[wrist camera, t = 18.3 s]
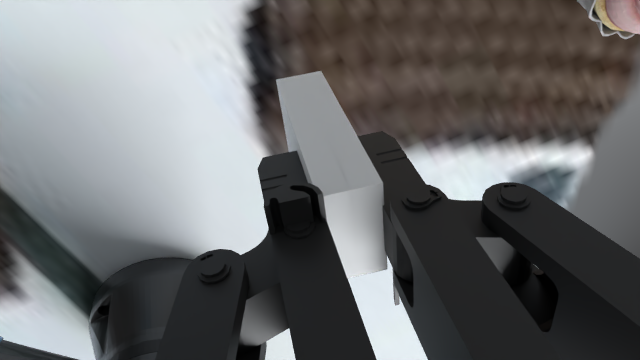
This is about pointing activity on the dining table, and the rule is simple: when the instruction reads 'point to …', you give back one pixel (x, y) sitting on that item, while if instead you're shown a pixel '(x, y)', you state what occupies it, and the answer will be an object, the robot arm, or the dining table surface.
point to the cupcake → (614, 16)
